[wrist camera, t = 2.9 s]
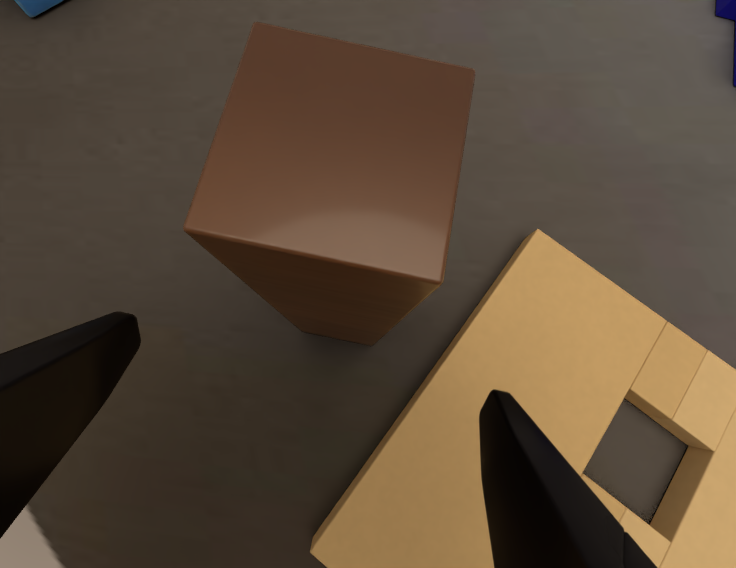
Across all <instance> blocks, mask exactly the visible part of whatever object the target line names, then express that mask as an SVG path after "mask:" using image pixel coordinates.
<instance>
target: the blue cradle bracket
mask: <svg viewBox="0 0 736 568" xmlns="http://www.w3.org/2000/svg"><path fill="white" fill-rule="evenodd" d="M716 15H717V16H720V17H724V18H728V19H731V20H735V51H734V86H736V0H716Z"/></svg>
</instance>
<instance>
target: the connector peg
mask: <svg viewBox="0 0 736 568" xmlns="http://www.w3.org/2000/svg"><path fill="white" fill-rule="evenodd" d="M474 80H475V70H474V69H473V68H468V67H463V66H459V65H454V64H450V63H445V62H440V61H436V60H431V59H426V58H422V57H417V56H413V55H408V54H403V53H399V52H394V51H390V50H385V49H380V48H376V47H371V46H366V45H362V44H357V43H353V42H348V41H343V40H339V39H334V38H329V37H325V36H320V35H316V34H311V33H306V32H302V31H297V30H293V29H288V28H283V27H279V26H274V25H269V24H265V23H260V22H254V23H253V26H252V29H251V31H250V34H249V37H248V40H247V43H246V46H245V49H244V52H243V55H242V58H241V60H240V63H239V66H238V69H237V72H236V75H235V78H234V81H233V84H232V87H231V89H230V92H229V95H228V98H227V101H226V104H225V107H224V110H223V113H222V116H221V118H220V121H219V124H218V127H217V130H216V133H215V136H214V139H213V142H212V145H211V147H210V150H209V153H208V156H207V159H206V162H205V165H204V168H203V171H202V174H201V176H200V179H199V182H198V185H197V188H196V191H195V194H194V197H193V200H192V203H191V205H190V208H189V211H188V214H187V217H186V220H185V223H184V226H183V229H184V231H185V232H186V233H187V234H188V235H189V236H191V237H192V238H193V239H194V240H195V241H197V242H198V243H199V244H200V245H201V246H202V247H204V248H205V249H206V250H207V251H208V252H209V253H211V254H212V255H213V256H214V257H215V258H216V259H218V260H219V261H220V262H221V263H222V264H223V265H225V266H226V267H227V268H228V269H229V270H230V271H232V272H233V273H234V274H235V275H236V276H238V277H239V278H240V279H241V280H242V281H243V282H245V283H246V284H247V285H248V286H249V287H250V288H252V289H253V290H254V291H255V292H256V293H257V294H259V295H260V296H261V297H262V298H263V299H264V300H266V301H267V302H268V303H269V304H270V305H271V306H273V307H274V308H275V309H276V310H277V311H279V312H280V313H281V314H282V315H283V316H284V317H286V318H287V319H288V320H289V321H290V322H291V323H293V324H294V325H295V326H296V327H297V328H298V329H300V330H301V331H302V332H306V333H311V334H316V335H321V336H325V337H330V338H335V339H340V340H345V341H350V342H354V343H359V344H364V345H369V346H372V345H374V344H375V343H376V342H377V341H378V340H379V339H380V338H382V337H383V336H384V335H385V334H386V333H387V332H388V331H389V330H391V329H392V328H393V327H394V326H395V325H396V324H397V323H398V322H400V321H401V320H402V319H403V318H404V317H405V316H406V315H407V314H409V313H410V312H411V311H412V310H413V309H414V308H415V307H416V306H418V305H419V304H420V303H421V302H422V301H423V300H424V299H426V298H427V297H428V296H429V295H430V294H431V293H432V292H433V291H435V290H436V289H437V288H438V287H439V286H440V285H441V284H442V283H443V280H444V273H445V267H446V260H447V254H448V247H449V241H450V235H451V228H452V222H453V215H454V209H455V202H456V196H457V189H458V183H459V177H460V170H461V164H462V157H463V151H464V144H465V138H466V131H467V125H468V118H469V112H470V106H471V99H472V93H473V86H474Z"/></svg>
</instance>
